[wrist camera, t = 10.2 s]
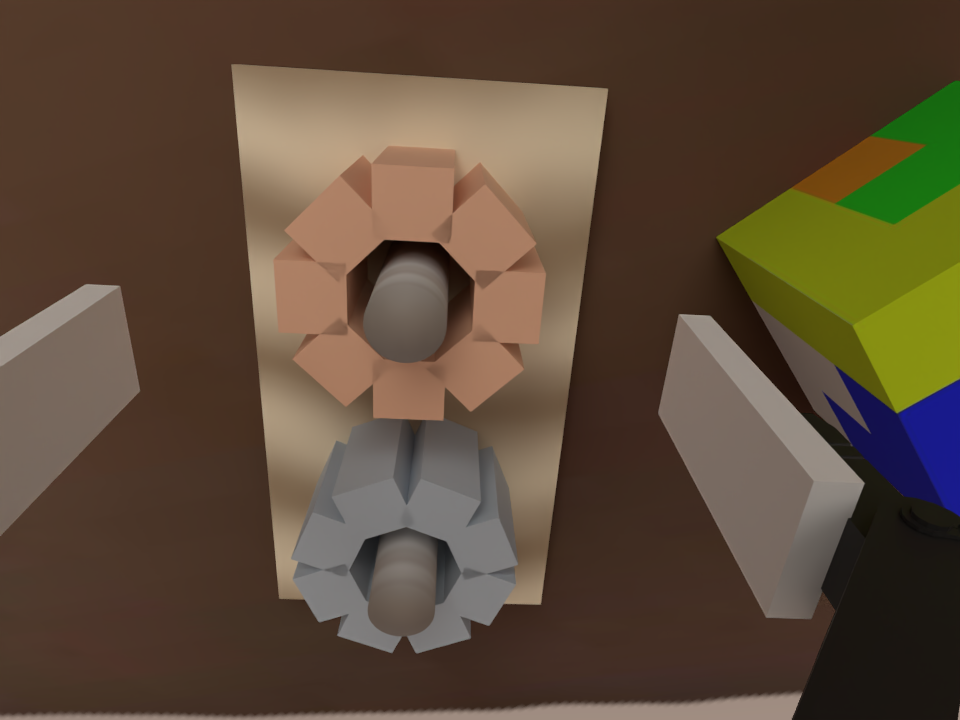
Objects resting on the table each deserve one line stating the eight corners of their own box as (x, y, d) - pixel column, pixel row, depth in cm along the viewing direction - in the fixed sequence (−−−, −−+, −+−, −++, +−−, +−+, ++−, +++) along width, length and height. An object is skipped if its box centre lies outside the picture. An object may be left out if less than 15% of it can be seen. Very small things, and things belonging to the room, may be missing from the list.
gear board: (242, 64, 23) (137, 61, 15) (601, 88, 24) (667, 95, 16) (285, 581, 33) (234, 732, 25) (537, 587, 33) (561, 735, 26)
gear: (289, 447, 28) (256, 520, 24) (469, 389, 27) (472, 453, 23) (365, 585, 31) (349, 672, 27) (528, 537, 31) (540, 618, 26)
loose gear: (304, 140, 23) (265, 157, 18) (537, 154, 23) (556, 174, 19) (314, 355, 26) (284, 414, 22) (517, 364, 27) (529, 424, 22)
